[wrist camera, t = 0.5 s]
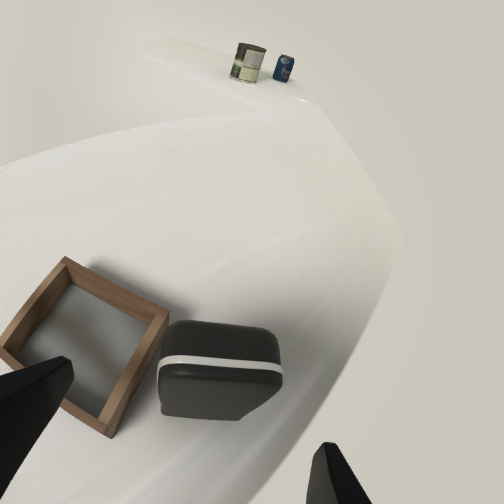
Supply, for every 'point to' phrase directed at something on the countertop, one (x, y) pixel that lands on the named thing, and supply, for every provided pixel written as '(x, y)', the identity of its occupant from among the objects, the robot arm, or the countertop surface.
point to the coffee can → (247, 63)
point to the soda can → (283, 68)
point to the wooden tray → (88, 340)
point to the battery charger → (217, 370)
